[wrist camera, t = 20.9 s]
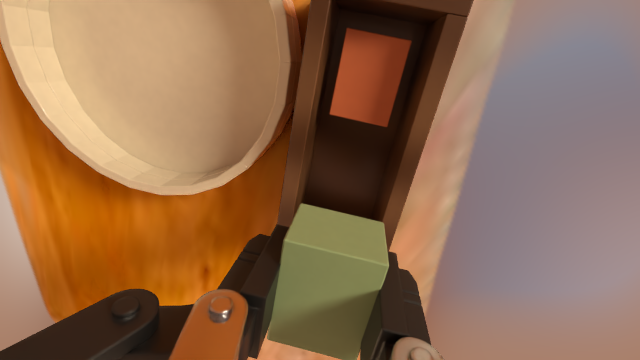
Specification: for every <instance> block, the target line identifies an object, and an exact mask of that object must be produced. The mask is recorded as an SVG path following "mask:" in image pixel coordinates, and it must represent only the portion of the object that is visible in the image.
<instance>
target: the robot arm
mask: <svg viewBox="0 0 640 360" xmlns="http://www.w3.org/2000/svg"><path fill="white" fill-rule="evenodd" d="M288 229H289V227H287V226H283V225H279V224H277V225H276V227H275V229H274V231H273V232H272V234H271V236H266V235H262V234H259V235H257V236H256V237H254V238H252V239H251V240H249V242H248V243H247V245H246V246H245V248H244V249H243V252H241V254H240V255H239V257H238V259H237V260H236V261H235V263H234V264H233V266H232V267H231V269H230V270H229V272H228V273H227V275H226V276H225V278H224V279H223V281H222V283H221V284H220V286H219V287H218V289H217V290H213V291H210V292H208V293H206V294H204V295H203V296H201V297H200V298H199V299H198V300H197V301H196V302H195V304H191V305H183V306H159V300H158V298H157V296H156V295H155V294H153V293H152V292H150V291H148V290H144V289H129V290H124V291H121V292H118V293H115V294H113V295H111V296H109V297H107V298H105V299H103V300H101V301H99V302H97V303H95V304H93V305H91V306H89V307H87V308H85V309H83V310H81V311H79V312H77V313H75V314H73V315H71V316H69V317H67V318H65V319H63V320H61V321H59V322H57V323H55V324H53V325H51V326H49V327H47V328H46V329H44V330H42V331H40V332H38V333H36V334H34V335H32V336H30V337H28V338H26V339H24V340H22V341H20V342H18V343H16V344H14V345H12V346H10V347H8V348H6V349H4V350H2V351H0V360H247V358H248V356H249V357H252V358H256V359H257V357H258V354H259V352H260V349H261V346H262V344H263V341H264V338H265V335H266V333H267V330H268V327H269V324H270V322H271V318H272V312H273V306H274V301H275V295H276V289H277V283H278V277H279V271H280V265H281V264H280V257H281V251H282V245H283V240H284V237H285V235H286V233H287V231H288ZM387 252H388V261H389V268H388V271H387V274H386V277H385V280H384V282H383V285H382V288H381V289H379V292H378V295H377V297H376V300H375V303H374V306H373V309H372V312H371V315H370V318H369V321H368V324H367V326H366V329H365V332H364V335H363V338H362V341H361V351H360V360H444V359H443V357H442V356H441V355H440V354H439V352H438V351H437V350H436V349H435V348H434V347H432V346H431V343H430V338H429V334H428V330H427V325H426V321H425V317H424V313H423V308H422V306H421V300H420V296H419V291H418V287H417V283H416V281H415V280H414V278H413V277H412V275H411V274H410V273H409V271H407V270H403V269H399V267H398V261H397V255H396V253H393V252H389V251H387Z"/></svg>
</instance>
